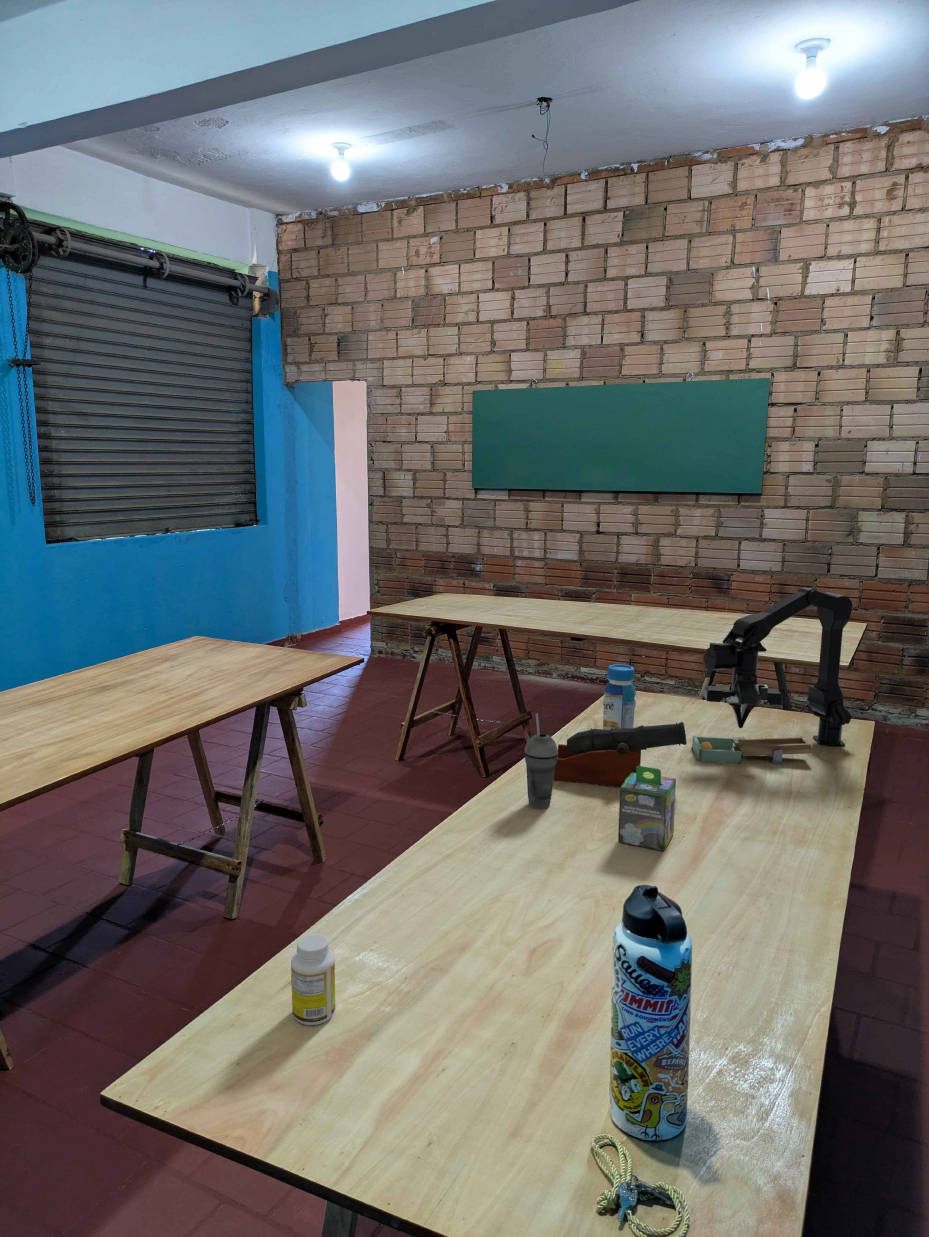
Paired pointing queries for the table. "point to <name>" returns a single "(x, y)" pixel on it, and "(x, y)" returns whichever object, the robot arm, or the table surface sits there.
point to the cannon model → (611, 753)
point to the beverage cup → (540, 768)
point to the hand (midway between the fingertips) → (740, 727)
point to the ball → (706, 745)
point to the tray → (716, 750)
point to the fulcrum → (776, 756)
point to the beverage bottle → (619, 698)
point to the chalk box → (647, 809)
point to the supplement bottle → (313, 980)
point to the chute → (772, 745)
